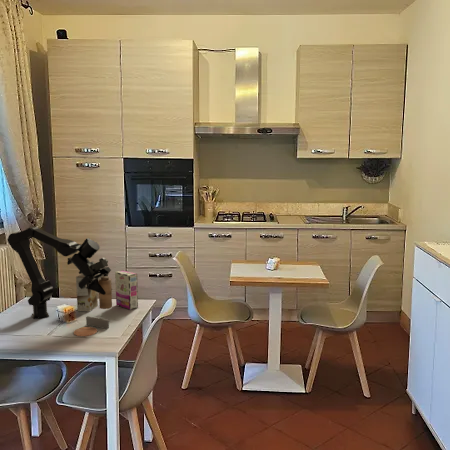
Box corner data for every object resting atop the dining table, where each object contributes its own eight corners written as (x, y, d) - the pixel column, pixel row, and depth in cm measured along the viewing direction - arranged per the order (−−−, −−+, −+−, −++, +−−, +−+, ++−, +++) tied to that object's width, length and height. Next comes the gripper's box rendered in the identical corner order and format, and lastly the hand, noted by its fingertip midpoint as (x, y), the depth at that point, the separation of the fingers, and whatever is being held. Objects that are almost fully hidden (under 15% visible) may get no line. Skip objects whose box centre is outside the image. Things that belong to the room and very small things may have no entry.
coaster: (72, 330, 196) (71, 329, 196) (94, 326, 201) (94, 325, 200) (76, 337, 189) (76, 336, 188) (99, 333, 193) (99, 332, 193)
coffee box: (90, 311, 220) (88, 277, 217) (77, 311, 221) (75, 277, 218) (98, 305, 229) (96, 272, 226) (85, 305, 230) (84, 272, 227)
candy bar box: (138, 307, 225) (137, 273, 223) (130, 310, 222) (129, 275, 219) (124, 302, 233) (123, 269, 230) (115, 305, 229) (114, 271, 227)
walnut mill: (98, 306, 206) (97, 276, 204) (110, 304, 209) (109, 275, 207) (100, 309, 202) (99, 279, 200) (113, 307, 204) (112, 278, 202)
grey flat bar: (86, 324, 203) (86, 316, 202) (88, 324, 204) (87, 316, 203) (107, 328, 198) (107, 320, 198) (109, 328, 199) (108, 319, 199)
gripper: (83, 257, 194) (109, 286, 193) (106, 248, 212) (130, 274, 210) (67, 275, 197) (92, 303, 196) (90, 265, 215) (114, 290, 214)
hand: (108, 292), depth 204 cm, fingers closed on walnut mill, 5 cm apart
